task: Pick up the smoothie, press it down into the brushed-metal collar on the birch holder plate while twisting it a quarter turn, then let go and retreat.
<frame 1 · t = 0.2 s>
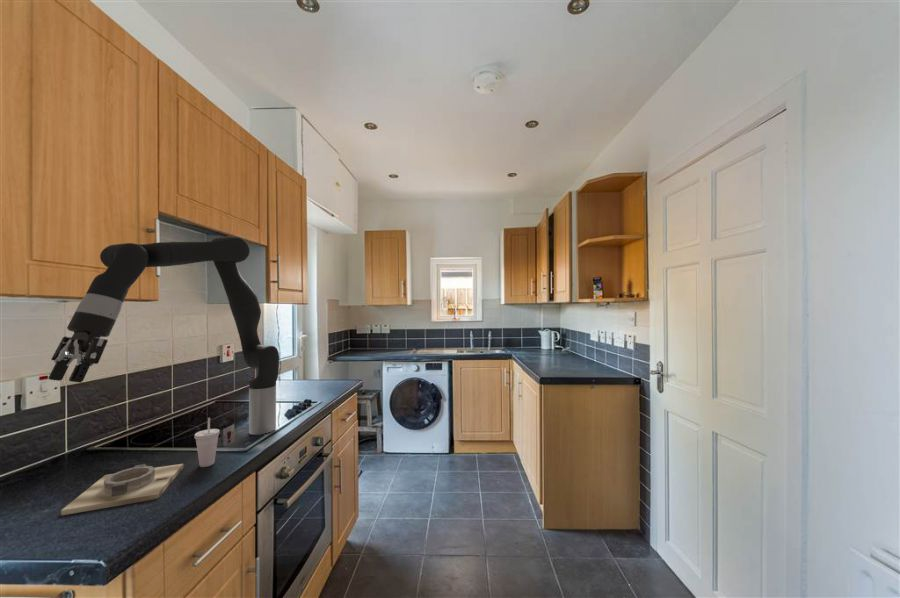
hand: (64, 381, 80), 31 cm above the counter, tool tilted 20°, fingers open, 8 cm apart
smoothie: (207, 464, 105), on the counter
holder: (130, 488, 91), on the counter
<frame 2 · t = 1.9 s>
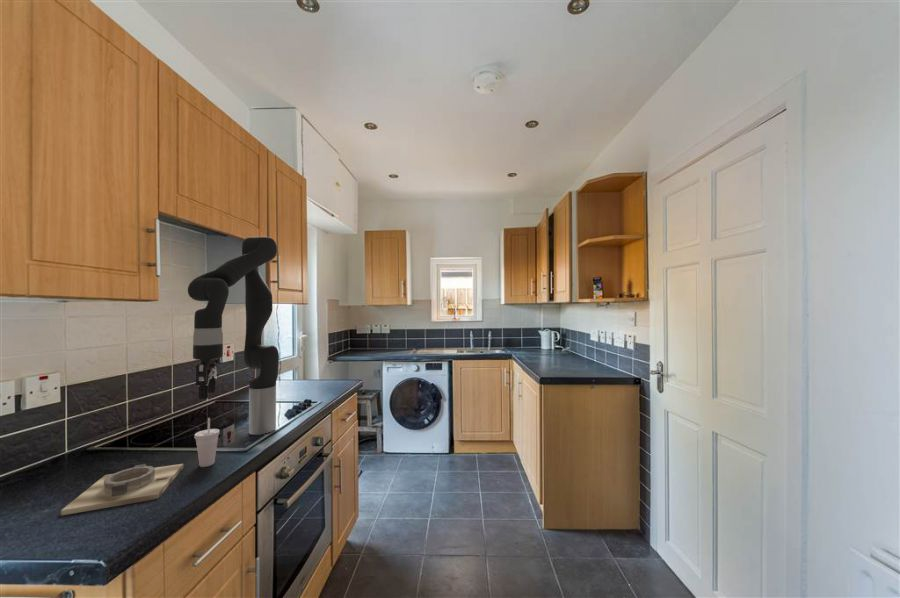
hand: (207, 395, 105), 21 cm above the counter, tool pointing down, fingers open, 8 cm apart
nothing on the counter moved.
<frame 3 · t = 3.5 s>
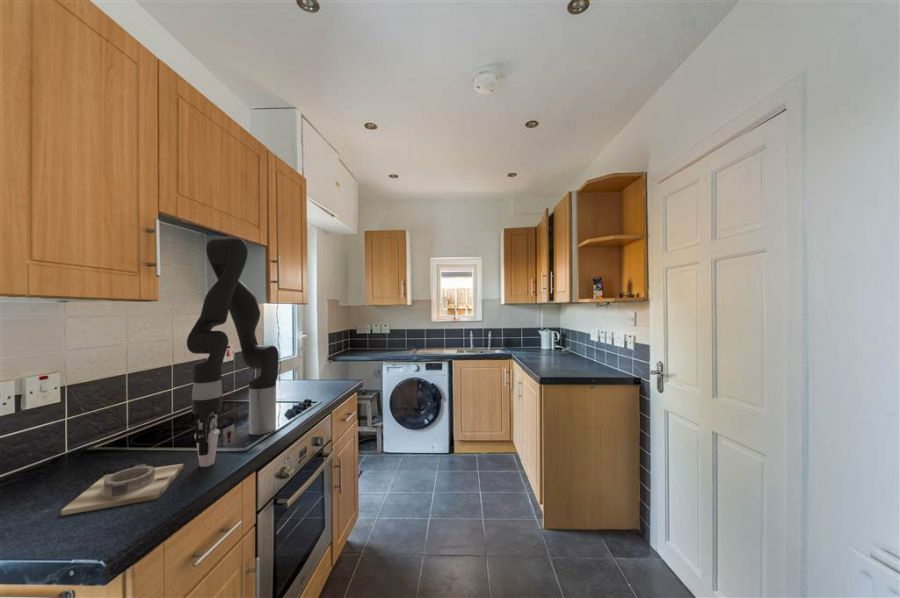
hand: (207, 450, 105), 4 cm above the counter, tool pointing down, fingers closed on smoothie, 6 cm apart
smoothie: (207, 464, 105), on the counter, touching gripper
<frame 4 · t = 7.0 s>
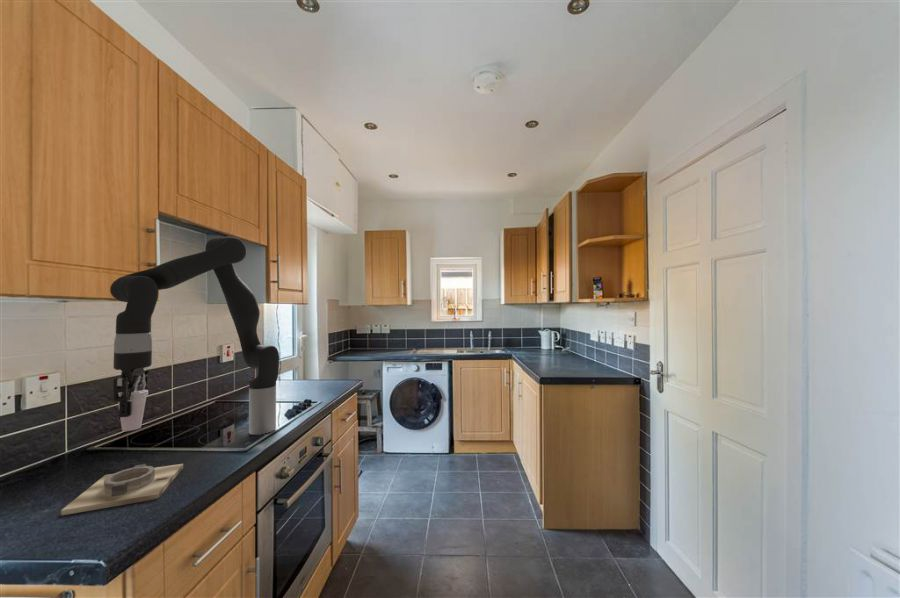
hand: (131, 412, 91), 20 cm above the counter, tool pointing down, fingers closed on smoothie, 6 cm apart
smoothie: (131, 429, 91), point 16 cm above the counter, touching gripper
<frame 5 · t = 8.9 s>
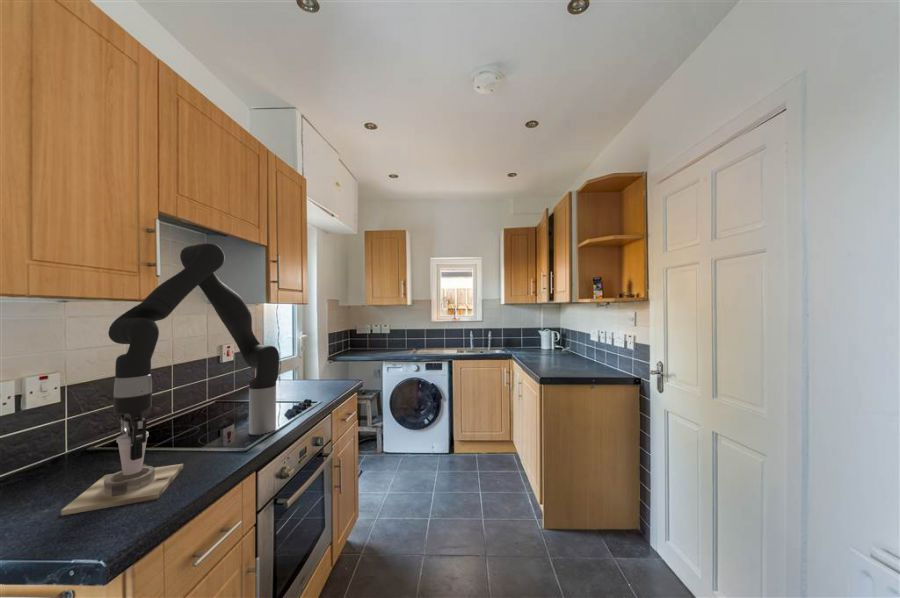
hand: (132, 455, 91), 9 cm above the counter, tool pointing down, fingers closed on smoothie, 6 cm apart
smoothie: (132, 472, 91), point 4 cm above the counter, touching gripper
when the fingers open (6 cm above the counter, at t = 10.3 s): smoothie stays where it is, resting on holder.
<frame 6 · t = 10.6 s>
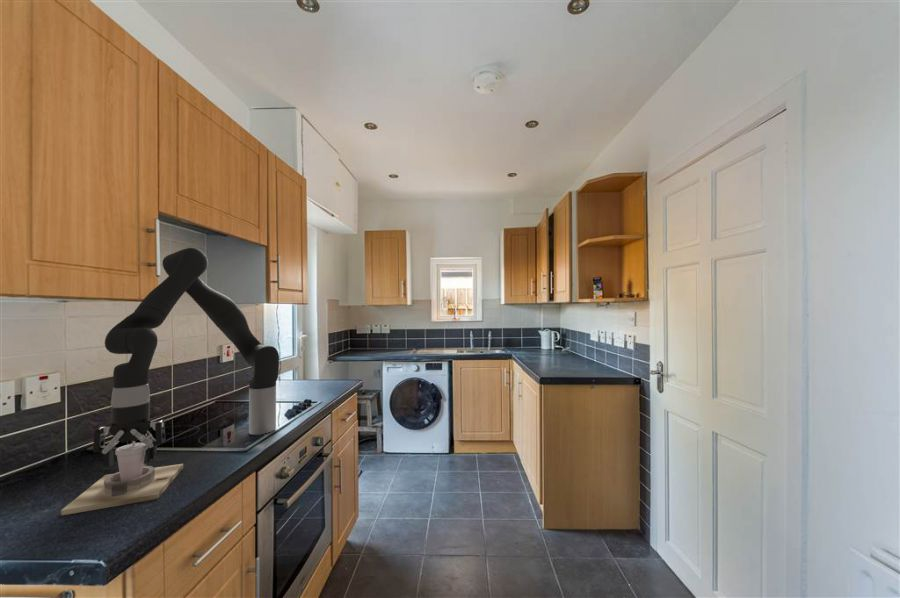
hand: (130, 463, 91), 7 cm above the counter, tool pointing down, fingers open, 8 cm apart
smoothie: (131, 484, 91), point 1 cm above the counter, touching holder
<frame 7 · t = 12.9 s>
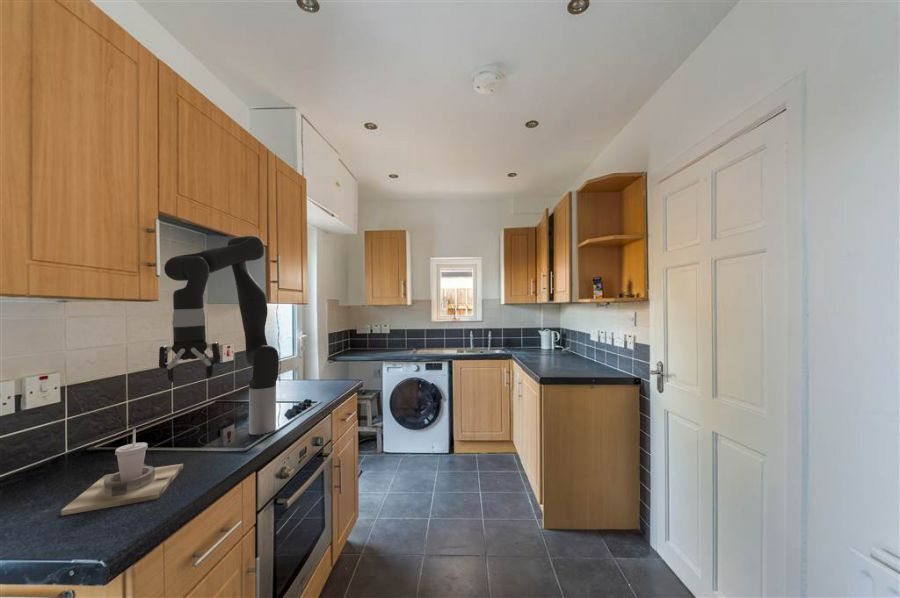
hand: (191, 379, 100), 27 cm above the counter, tool pointing down, fingers open, 8 cm apart
nothing on the counter moved.
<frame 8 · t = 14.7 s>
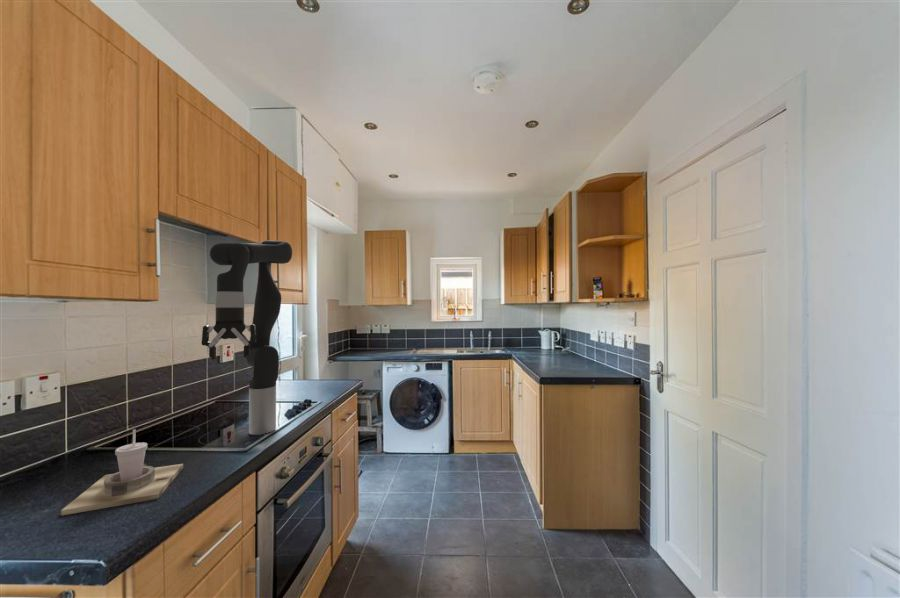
hand: (229, 358, 107), 32 cm above the counter, tool pointing down, fingers open, 8 cm apart
nothing on the counter moved.
at the end: smoothie 0.2 cm off-centre on the holder, point 1.0 cm above the holder's base; smoothie tilted 0°; the gripper is holding nothing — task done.
